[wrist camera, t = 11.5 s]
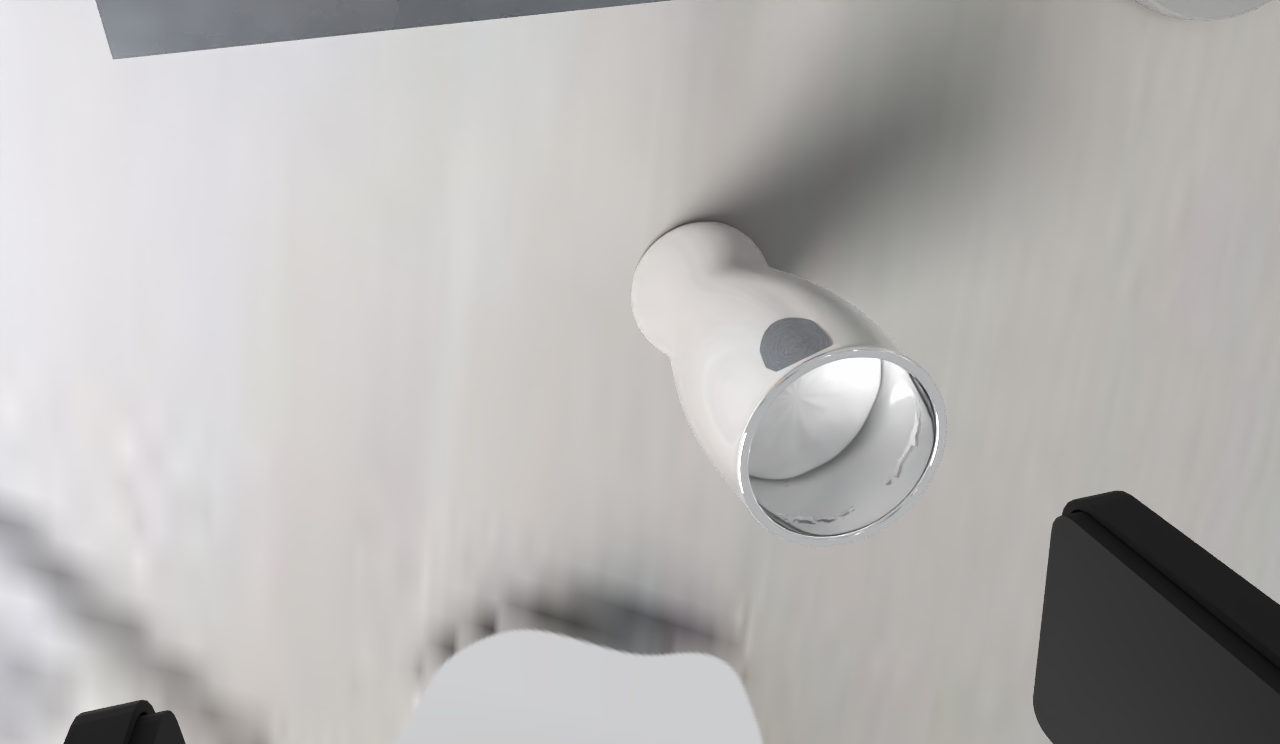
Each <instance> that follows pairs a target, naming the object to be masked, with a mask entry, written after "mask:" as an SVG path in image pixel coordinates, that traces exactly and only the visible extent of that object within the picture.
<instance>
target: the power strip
mask: <svg viewBox="0 0 1280 744" xmlns="http://www.w3.org/2000/svg"><path fill="white" fill-rule="evenodd" d="M659 1H669V0H96V3H97V7H98V10H99V13H100V17H101V20H102V24H103V27H104V30H105V34H106V37H107V41H108V44H109V47H110V51H111V54H112V58H113V59H121V58H130V57H140V56H149V55H159V54H168V53H177V52H187V51H196V50H206V49H215V48H225V47H234V46H244V45H253V44H262V43H272V42H281V41H291V40H300V39H310V38H319V37H329V36H338V35H348V34H357V33H366V32H376V31H385V30H395V29H404V28H414V27H423V26H433V25H442V24H452V23H461V22H470V21H480V20H489V19H499V18H508V17H518V16H527V15H537V14H546V13H555V12H565V11H574V10H584V9H593V8H603V7H612V6H622V5H631V4H641V3H650V2H659Z"/></svg>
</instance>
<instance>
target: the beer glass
mask: <svg viewBox="0 0 1280 744" xmlns="http://www.w3.org/2000/svg"><path fill="white" fill-rule="evenodd" d="M631 307H632V312H633V316H634V319H635V321H636V323H637V325H638V327H639V329H640V331H641V332H642V334H643V335H644V336H645V337H646V339H647V340H648V341H649V342H650V343H651V344H652V345H653V346H655V347H656V348H657V349H659V350H660V351H661V352H663V353H665V354H666V355H668V356H669V358H670V363H671V367H672V372H673V376H674V381H675V385H676V389H677V393H678V397H679V400H680V403H681V405H682V408H683V411H684V414H685V417H686V420H687V422H688V424H689V426H690V428H691V430H692V432H693V434H694V436H695V437H696V439H697V441H698V443H699V445H700V446H701V448H702V450H703V451H704V453H705V454H706V456H707V457H708V459H709V460H710V462H711V463H712V464H713V466H714V467H715V469H716V470H717V472H718V473H719V474H720V475H721V477H722V478H723V479H724V480H725V482H726V483H727V484H728V485H729V486H730V488H731V489H732V490H733V491H734V492H735V494H736V495H737V496H738V497H739V498H740V499H741V500H742V501H743V503H744V504H745V505H746V507H747V508H748V510H749V511H750V513H751V514H752V516H753V517H754V518H755V519H756V521H757V522H758V523H759V524H760V525H761V526H763V527H764V528H765V529H766V530H768V531H769V532H770V533H772V534H773V535H775V536H777V537H779V538H781V539H783V540H785V541H788V542H791V543H794V544H798V545H803V546H810V547H831V546H839V545H844V544H848V543H852V542H855V541H858V540H861V539H864V538H866V537H869V536H871V535H873V534H875V533H877V532H879V531H881V530H882V529H884V528H886V527H887V526H889V525H890V524H892V523H893V522H895V521H896V520H897V519H898V518H900V517H901V516H902V515H903V514H904V513H905V512H907V511H908V510H909V509H910V508H911V507H912V506H913V505H914V504H915V502H916V501H917V500H918V499H919V498H920V497H921V495H922V494H923V493H924V491H925V490H926V488H927V487H928V485H929V484H930V482H931V480H932V479H933V477H934V475H935V473H936V471H937V469H938V466H939V464H940V461H941V458H942V455H943V451H944V447H945V442H946V434H947V418H946V411H945V406H944V402H943V399H942V396H941V394H940V392H939V389H938V388H937V386H936V384H935V382H934V381H933V379H932V378H931V377H930V375H929V374H928V373H927V372H926V371H925V370H924V369H923V368H922V367H921V366H920V365H919V364H917V363H916V362H915V361H913V360H912V359H911V358H910V357H909V356H908V355H907V354H906V352H905V351H904V350H903V349H902V348H901V347H900V346H899V345H898V344H897V343H896V342H895V341H894V340H893V339H892V338H891V337H890V336H889V335H888V334H887V333H886V332H885V331H884V330H883V329H882V328H881V327H880V326H879V325H877V324H876V323H875V322H874V321H873V320H872V319H871V318H869V317H868V316H867V315H866V314H865V313H864V312H862V311H861V310H860V309H858V308H857V307H856V306H854V305H853V304H851V303H850V302H848V301H847V300H845V299H844V298H842V297H841V296H839V295H838V294H836V293H835V292H833V291H831V290H829V289H827V288H825V287H822V286H820V285H818V284H816V283H814V282H812V281H809V280H807V279H804V278H801V277H799V276H796V275H793V274H790V273H787V272H784V271H781V270H777V269H774V268H771V267H769V266H768V264H767V262H766V260H765V258H764V256H763V254H762V253H761V251H760V250H759V248H758V247H757V246H756V244H755V243H754V242H753V241H752V240H751V239H750V238H749V237H748V236H746V235H745V234H744V233H743V232H741V231H739V230H738V229H736V228H734V227H731V226H729V225H726V224H722V223H718V222H708V221H704V222H694V223H689V224H685V225H682V226H679V227H677V228H675V229H673V230H671V231H669V232H668V233H666V234H664V235H663V236H662V237H660V238H659V239H658V240H657V241H656V242H654V243H653V244H652V245H651V246H650V248H649V249H648V250H647V251H646V252H645V254H644V255H643V257H642V258H641V260H640V262H639V264H638V266H637V268H636V270H635V273H634V276H633V280H632V285H631Z"/></svg>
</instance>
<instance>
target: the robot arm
mask: <svg viewBox="0 0 1280 744" xmlns="http://www.w3.org/2000/svg"><path fill="white" fill-rule="evenodd" d="M1136 1H1137V2H1138V3H1140V4H1142V5H1144V6H1145V7H1147V8H1149V9H1151V10H1153V11H1155V12H1156V13H1159V14H1163V15H1167V16H1171V17H1175V18H1179V19H1190V20H1203V21H1209V20H1217V19H1225V18H1232V17H1235V16H1238V15H1240V14H1243V13H1246V12H1249V11H1252V10H1255V9H1257V8H1259V7H1261V6H1262V5H1264V4H1266V3H1268V2H1269V1H1271V0H1136ZM1033 706H1034V711H1035V715H1036V717H1037V720H1038V722H1039V724H1040V726H1041V728H1042V730H1043V731H1044V733H1045V734H1046V736H1047V737H1048V738H1049V739H1050V740H1051V742H1052V743H1053V744H1280V605H1279V604H1278V603H1276V602H1275V601H1274V600H1272V599H1271V598H1270V597H1268V596H1267V595H1265V594H1264V593H1263V592H1261V591H1260V590H1259V589H1257V588H1256V587H1255V586H1253V585H1252V584H1251V583H1249V582H1248V581H1247V580H1245V579H1244V578H1242V577H1241V576H1240V575H1238V574H1237V573H1236V572H1234V571H1233V570H1232V569H1230V568H1229V567H1228V566H1226V565H1225V564H1224V563H1222V562H1221V561H1220V560H1218V559H1217V558H1215V557H1214V556H1213V555H1211V554H1210V553H1209V552H1207V551H1206V550H1205V549H1203V548H1202V547H1201V546H1199V545H1198V544H1197V543H1195V542H1194V541H1192V540H1191V539H1190V538H1188V537H1187V536H1186V535H1184V534H1183V533H1182V532H1180V531H1179V530H1178V529H1176V528H1175V527H1174V526H1172V525H1171V524H1169V523H1168V522H1167V521H1165V520H1164V519H1163V518H1161V517H1160V516H1159V515H1157V514H1156V513H1155V512H1153V511H1152V510H1151V509H1149V508H1148V507H1147V506H1145V505H1144V504H1142V503H1141V502H1140V501H1138V500H1137V499H1136V498H1134V497H1133V496H1132V495H1130V494H1128V493H1126V492H1124V491H1112V492H1107V493H1103V494H1098V495H1093V496H1089V497H1084V498H1079V499H1075V500H1072V501H1070V502H1068V503H1067V505H1066V506H1065V508H1064V510H1063V513H1062V516H1060V517H1058V518H1056V519H1055V521H1054V522H1053V526H1052V531H1051V540H1050V549H1049V558H1048V568H1047V577H1046V586H1045V595H1044V604H1043V613H1042V622H1041V631H1040V640H1039V649H1038V658H1037V668H1036V677H1035V686H1034V695H1033ZM64 744H185V741H184V738H183V735H182V733H181V730H180V727H179V725H178V722H177V720H176V718H175V715H174V714H173V713H172V712H171V711H168V710H167V711H162V712H157V713H155V711H154V709H153V707H152V705H151V704H150V703H149V702H148V701H146V700H139V701H134V702H130V703H125V704H120V705H116V706H111V707H107V708H102V709H97V710H93V711H88V712H83V713H81V714H79V715H78V716H76V718H75V719H74V721H73V723H72V725H71V727H70V729H69V732H68V734H67V737H66V739H65V742H64Z"/></svg>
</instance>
